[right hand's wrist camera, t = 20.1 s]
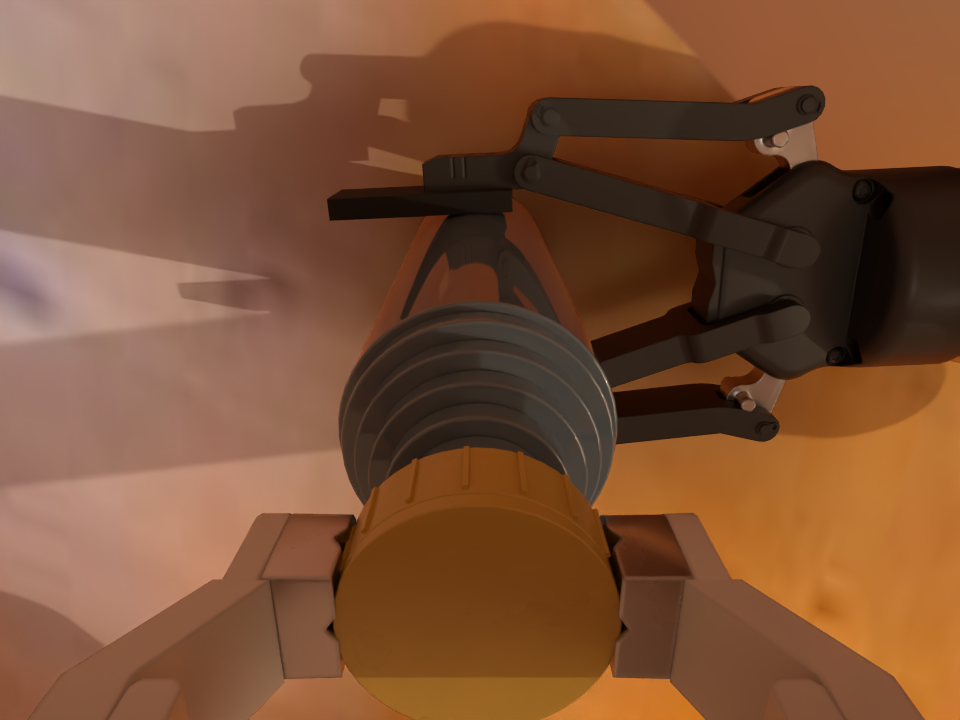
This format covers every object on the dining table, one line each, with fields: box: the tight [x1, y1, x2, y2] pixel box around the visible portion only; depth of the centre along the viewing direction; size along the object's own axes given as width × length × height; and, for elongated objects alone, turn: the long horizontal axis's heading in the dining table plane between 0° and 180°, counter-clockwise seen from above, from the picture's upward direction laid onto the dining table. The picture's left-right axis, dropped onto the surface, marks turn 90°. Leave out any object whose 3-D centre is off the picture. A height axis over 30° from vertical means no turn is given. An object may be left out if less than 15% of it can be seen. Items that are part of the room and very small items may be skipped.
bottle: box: [338, 198, 618, 507], centre depth 20 cm, size 6×6×23 cm
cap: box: [333, 446, 622, 720], centre depth 10 cm, size 4×4×2 cm
